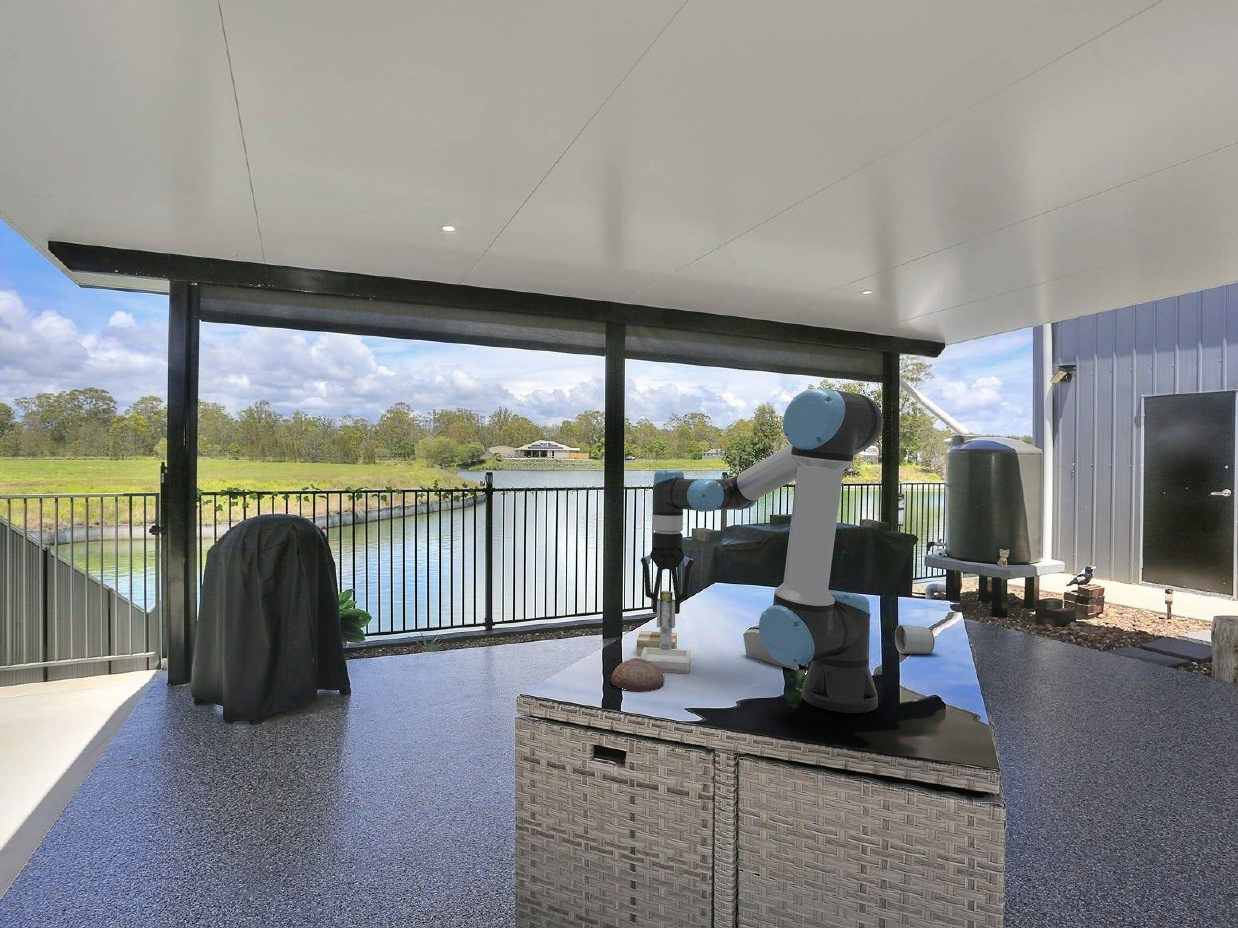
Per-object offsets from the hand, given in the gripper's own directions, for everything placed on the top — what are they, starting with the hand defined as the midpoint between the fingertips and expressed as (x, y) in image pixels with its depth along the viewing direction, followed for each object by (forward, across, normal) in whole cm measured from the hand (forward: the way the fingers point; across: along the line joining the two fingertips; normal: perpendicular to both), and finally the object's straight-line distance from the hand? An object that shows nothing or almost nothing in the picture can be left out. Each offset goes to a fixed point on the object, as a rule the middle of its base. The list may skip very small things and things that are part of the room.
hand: (665, 626), depth 163 cm
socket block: (+10, +3, -12) cm, 16 cm away
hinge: (+10, -27, -8) cm, 30 cm away
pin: (+6, 0, 0) cm, 6 cm away
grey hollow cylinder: (+10, -66, -25) cm, 71 cm away
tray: (+10, 0, 0) cm, 10 cm away
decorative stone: (+10, +5, +15) cm, 19 cm away
